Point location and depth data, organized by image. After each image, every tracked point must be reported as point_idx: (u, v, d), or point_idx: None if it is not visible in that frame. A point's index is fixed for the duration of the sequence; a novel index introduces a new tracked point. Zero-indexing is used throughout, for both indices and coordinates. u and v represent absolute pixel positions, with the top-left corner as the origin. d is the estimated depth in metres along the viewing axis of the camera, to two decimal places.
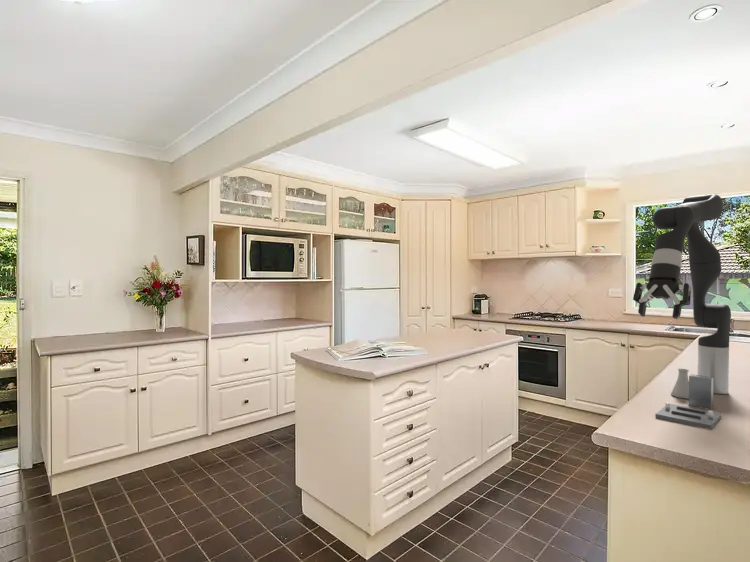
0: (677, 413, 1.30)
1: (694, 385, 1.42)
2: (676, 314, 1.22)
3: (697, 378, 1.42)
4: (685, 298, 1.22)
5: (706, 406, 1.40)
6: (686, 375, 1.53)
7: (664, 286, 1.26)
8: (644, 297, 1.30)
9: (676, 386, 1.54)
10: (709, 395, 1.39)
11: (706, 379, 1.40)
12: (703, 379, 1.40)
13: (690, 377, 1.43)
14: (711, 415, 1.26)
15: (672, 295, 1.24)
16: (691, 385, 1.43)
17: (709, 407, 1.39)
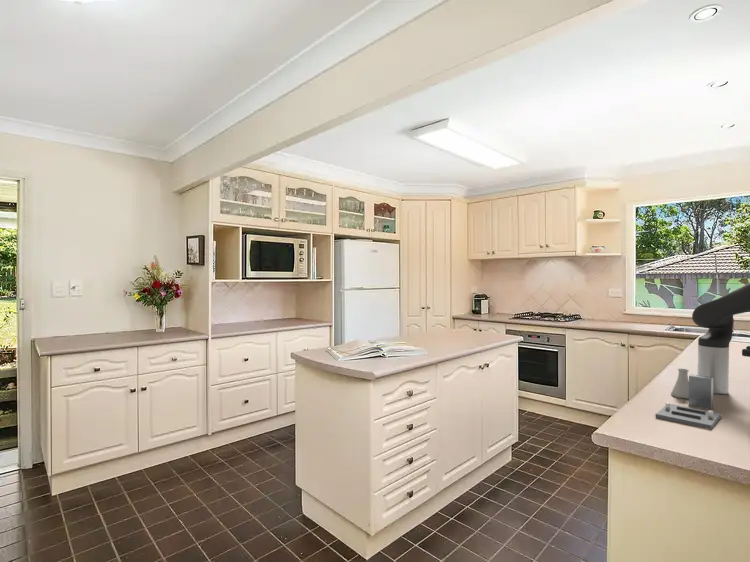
0: (677, 413, 1.30)
1: (694, 385, 1.42)
2: None
3: (697, 378, 1.42)
4: None
5: (706, 406, 1.40)
6: (686, 375, 1.53)
7: None
8: None
9: (676, 386, 1.54)
10: (709, 395, 1.39)
11: (706, 379, 1.40)
12: (703, 379, 1.40)
13: (690, 377, 1.43)
14: (711, 415, 1.26)
15: None
16: (691, 385, 1.43)
17: (709, 407, 1.39)
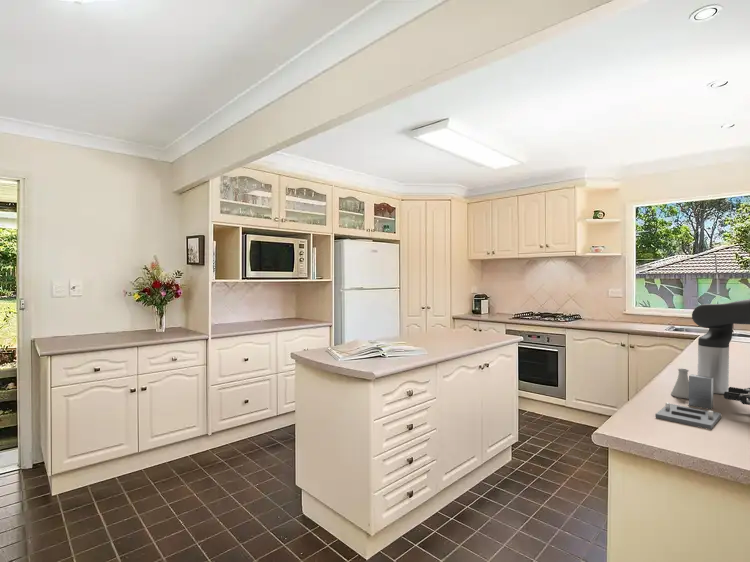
0: (677, 413, 1.30)
1: (694, 385, 1.42)
2: None
3: (697, 378, 1.42)
4: None
5: (706, 406, 1.40)
6: (686, 375, 1.53)
7: None
8: None
9: (676, 386, 1.54)
10: (709, 395, 1.39)
11: (706, 379, 1.40)
12: (703, 379, 1.40)
13: (690, 377, 1.43)
14: (711, 415, 1.26)
15: None
16: (691, 385, 1.43)
17: (709, 407, 1.39)
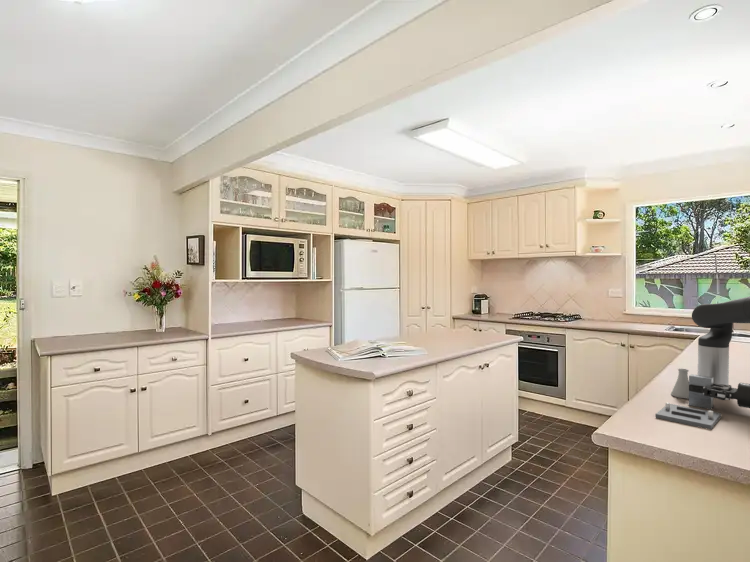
0: (677, 413, 1.30)
1: None
2: None
3: (697, 378, 1.42)
4: None
5: (706, 406, 1.40)
6: (686, 375, 1.53)
7: None
8: None
9: (676, 386, 1.54)
10: None
11: (706, 379, 1.40)
12: (703, 379, 1.40)
13: (690, 377, 1.43)
14: (711, 415, 1.26)
15: None
16: None
17: (709, 407, 1.39)
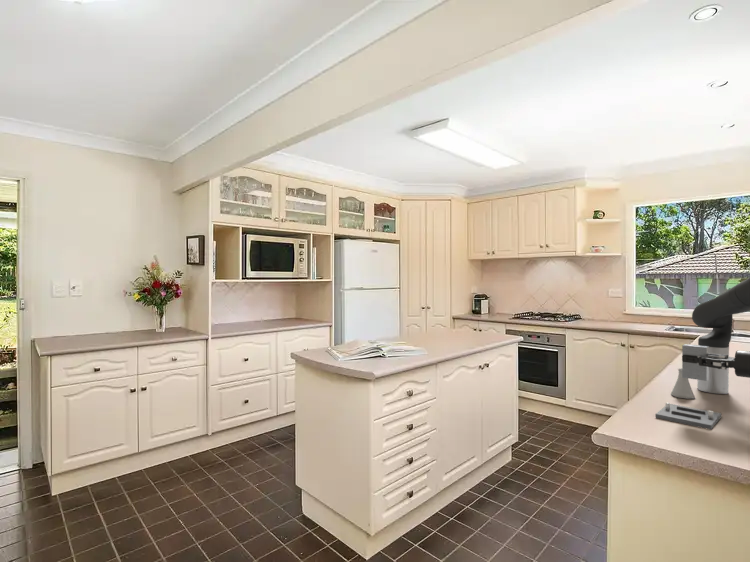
0: (677, 413, 1.30)
1: None
2: None
3: (691, 347, 1.30)
4: None
5: (701, 377, 1.28)
6: None
7: None
8: None
9: (676, 386, 1.54)
10: None
11: (701, 348, 1.28)
12: (698, 348, 1.29)
13: (683, 347, 1.31)
14: (711, 415, 1.26)
15: None
16: None
17: (704, 378, 1.28)
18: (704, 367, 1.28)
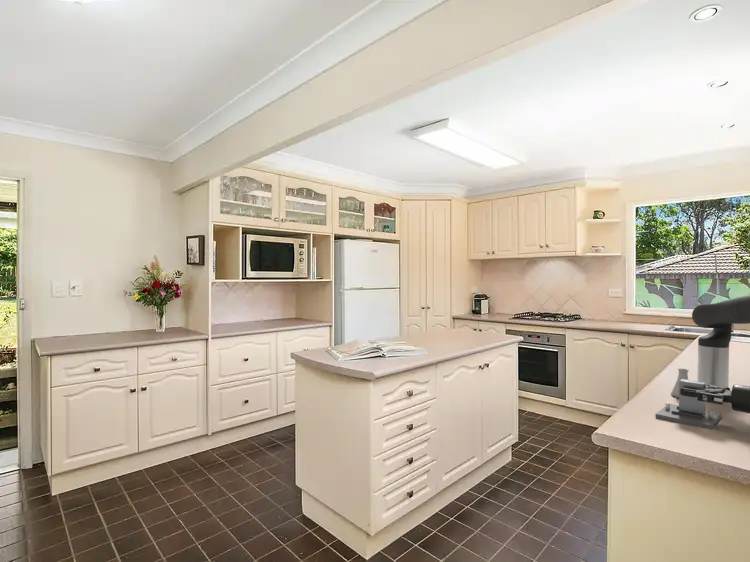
0: (677, 413, 1.30)
1: None
2: None
3: (688, 383, 1.29)
4: None
5: (698, 414, 1.28)
6: (686, 375, 1.53)
7: None
8: None
9: (676, 386, 1.54)
10: (701, 402, 1.27)
11: (698, 384, 1.28)
12: (694, 384, 1.28)
13: (680, 382, 1.31)
14: (711, 415, 1.26)
15: None
16: None
17: (701, 415, 1.27)
18: (701, 404, 1.27)
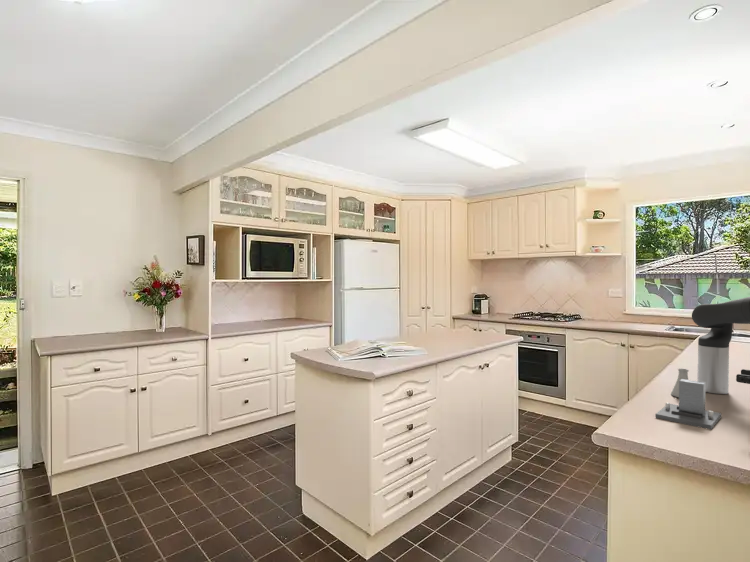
0: (677, 413, 1.30)
1: (685, 391, 1.30)
2: None
3: (688, 383, 1.29)
4: None
5: (698, 414, 1.28)
6: (686, 375, 1.53)
7: None
8: None
9: (676, 386, 1.54)
10: (701, 402, 1.27)
11: (698, 384, 1.28)
12: (694, 384, 1.28)
13: (680, 382, 1.31)
14: (711, 415, 1.26)
15: None
16: (682, 391, 1.30)
17: (701, 415, 1.27)
18: (701, 404, 1.27)
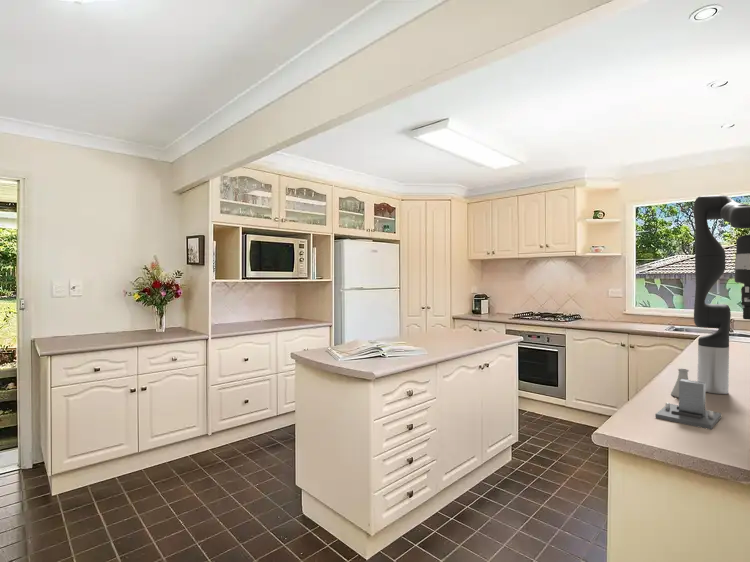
0: (677, 413, 1.30)
1: (685, 391, 1.30)
2: None
3: (688, 383, 1.29)
4: None
5: (698, 414, 1.28)
6: (686, 375, 1.53)
7: None
8: None
9: (676, 386, 1.54)
10: (701, 402, 1.27)
11: (698, 384, 1.28)
12: (694, 384, 1.28)
13: (680, 382, 1.31)
14: (711, 415, 1.26)
15: None
16: (682, 391, 1.30)
17: (701, 415, 1.27)
18: (701, 404, 1.27)
